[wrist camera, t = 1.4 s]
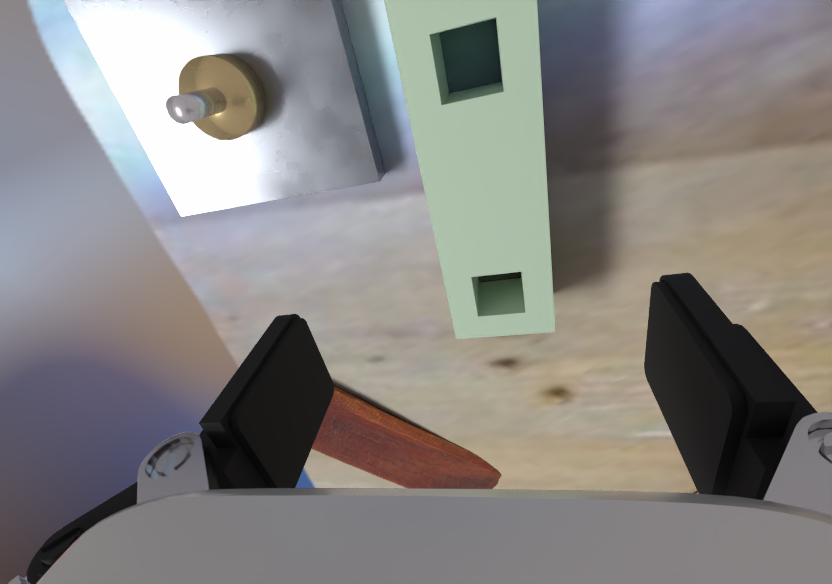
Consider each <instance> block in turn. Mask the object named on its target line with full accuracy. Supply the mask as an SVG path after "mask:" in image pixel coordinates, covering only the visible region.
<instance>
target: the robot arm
mask: <svg viewBox="0 0 832 584" xmlns="http://www.w3.org/2000/svg"><path fill="white" fill-rule="evenodd" d="M644 368H645V374H646V378H647V381H648V383H649V385H650V387H651V389H652V392H653V394H654V396H655V398H656V400H657V403H658V405H659V407H660V409H661V411H662V414H663V416H664V418H665V420H666V422H667V424H668V427H669V429H670V431H671V433H672V435H673V438H674V440H675V442H676V444H677V446H678V449H679V451H680V453H681V455H682V457H683V460H684V462H685V464H686V466H687V468H688V471H689V473H690V475H691V477H692V479H693V482H694V484H695V486H696V488H697V490H698V493H699V494H694V493H670V492H634V491H593V490H514V489H400V488H295V487H296V484H297V482H298V479H299V477H300V474H301V472H302V470H303V467H304V465H305V463H306V460H307V458H308V455H309V453H310V450H311V448H312V446H313V443H314V441H315V438H316V436H317V434H318V431H319V429H320V426H321V424H322V422H323V419H324V417H325V414H326V412H327V409H328V407H329V405H330V402H331V400H332V397H333V395H334V384H333V381H332V379H331V377H330V374H329V372H328V370H327V368H326V365H325V363H324V361H323V359H322V356H321V354H320V352H319V350H318V347H317V345H316V343H315V340H314V338H313V336H312V334H311V331H310V329H309V327H308V325H307V322H306V321H305V320H304V319H303V318H300V317H299V316H298V315H297V314H291V315H281V316H277V317H276V318H275V319H274V320H273V322H272V323H271V324H270V326H269V327H268V329H267V330H266V331H265V333H264V334H263V335H262V337H261V338H260V340H259V341H258V342H257V344H256V345H255V346H254V348H253V349H252V351H251V352H250V353H249V355H248V356H247V358H246V359H245V360H244V362H243V363H242V364H241V366H240V367H239V369H238V370H237V371H236V373H235V374H234V376H233V377H232V378H231V380H230V381H229V382H228V384H227V385H226V387H225V388H224V389H223V391H222V392H221V394H220V395H219V396H218V398H217V399H216V400H215V402H214V403H213V404H212V406H211V407H210V409H209V410H208V411H207V413H206V414H205V416H204V417H203V418H202V420H201V421H200V422H199V424H200V425H201V426H202V428H203V431H202V432H201V434H200V435H198V434H196V433H194V432H184V433H180V434H177V435H174V436H172V437H170V438H168V439H167V440H165V441H163V442H162V443H160V444H159V445H158V446H157V447H155V448H154V449H153V450H152V451H151V452H150V453H149V454H148V455H147V457H146V458H145V459H144V460H143V462H142V464H141V466H140V468H139V472H138V482H136V483H135V484H133V485H131V486H130V487H128V488H127V489H125V490H123V491H122V492H120V493H118V494H117V495H115V496H113V497H112V498H110V499H109V500H107V501H105V502H104V503H102V504H100V505H99V506H97V507H96V508H94V509H92V510H91V511H89V512H87V513H86V514H84V515H82V516H81V517H79V518H77V519H76V520H74V521H73V522H71V523H69V524H68V525H66V526H65V527H63V528H62V529H61V530H59V531H57V532H56V533H54V534H53V535H52V536H51V537H50V538H49V539H48V540H47V541H46V542H45V543H44V544H43V546H42V547H41V548H40V549H39V551H38V552H37V553H36V555H35V556H34V558H33V559H32V561H31V563H30V565H29V568H28V571H27V576H26V577H25V578H24V579H23V578H21V577H20V576H17V577H16V578H14V579H13V580H12V581H11V582H9V583H8V584H832V412H822V413H818V412H817V411H816V410H815V409H814V408H813V407H812V405H811V404H810V403H809V402H808V401H807V400H806V398H805V397H804V396H803V395H802V394H801V393H800V391H799V390H798V389H797V388H796V387H795V386H794V384H793V383H792V382H791V381H790V380H789V379H788V377H787V376H786V375H785V374H784V373H783V372H782V370H781V369H780V368H779V367H778V366H777V365H776V363H775V362H774V361H773V360H772V359H771V358H770V356H769V355H768V354H767V353H766V352H765V351H764V349H763V348H762V347H761V346H760V345H759V344H758V342H757V341H756V340H755V339H754V338H753V337H752V335H751V334H750V333H749V332H748V331H747V330H746V329H745V328H744V327H743V326H742V325H739V324H732V323H731V321H730V320H729V319H728V318H727V317H726V315H725V314H724V313H723V312H722V311H721V309H720V308H719V307H718V306H717V304H716V303H715V302H714V301H713V300H712V298H711V297H710V296H709V295H708V294H707V292H706V291H705V290H704V289H703V288H702V286H701V285H700V284H699V283H698V282H697V280H696V279H695V278H694V277H693V275H691V274H690V273H682V274H672V275H663V276H661V278H660V281H659V282H654V283H653V284H652V287H651V297H650V308H649V319H648V330H647V341H646V352H645V363H644Z"/></svg>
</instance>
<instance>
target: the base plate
mask: <svg viewBox="0 0 832 584" xmlns="http://www.w3.org/2000/svg"><path fill="white" fill-rule="evenodd" d="M63 1H64V2H65V4H66V6H67V8H68V10H69V12H70V13H71V15H72V17H73V19H74V21H75V23H76V24H77V26H78V28H79V30H80V32H81V34H82V35H83V37H84V39H85V41H86V43H87V45H88V46H89V48H90V50H91V52H92V54H93V56H94V57H95V59H96V61H97V63H98V65H99V67H100V68H101V70H102V72H103V74H104V76H105V78H106V80H107V81H108V83H109V85H110V87H111V89H112V91H113V92H114V94H115V96H116V98H117V100H118V102H119V103H120V105H121V107H122V109H123V111H124V113H125V114H126V116H127V118H128V120H129V122H130V124H131V125H132V127H133V129H134V131H135V133H136V135H137V136H138V138H139V140H140V142H141V144H142V146H143V148H144V149H145V151H146V153H147V155H148V157H149V159H150V160H151V162H152V164H153V166H154V168H155V170H156V171H157V173H158V175H159V177H160V179H161V181H162V182H163V184H164V186H165V188H166V190H167V192H168V193H169V195H170V197H171V199H172V201H173V203H174V204H175V206H176V208H177V210H178V212H179V214H180V215H181V217H182V216H187V215H193V214H198V213H204V212H210V211H215V210H221V209H227V208H232V207H238V206H244V205H249V204H255V203H261V202H266V201H272V200H278V199H283V198H289V197H295V196H300V195H306V194H311V193H317V192H323V191H328V190H334V189H340V188H345V187H351V186H357V185H362V184H368V183H374V182H379V181H380V180H381V179H382V178H383V176H384V175H385V171H384V167H383V163H382V159H381V155H380V151H379V147H378V143H377V140H376V136H375V132H374V128H373V124H372V120H371V116H370V112H369V108H368V105H367V101H366V97H365V93H364V89H363V85H362V81H361V77H360V74H359V70H358V66H357V62H356V58H355V54H354V50H353V46H352V43H351V39H350V35H349V31H348V27H347V23H346V19H345V15H344V12H343V8H342V4H341V0H63Z"/></svg>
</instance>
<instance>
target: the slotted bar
mask: <svg viewBox="0 0 832 584" xmlns="http://www.w3.org/2000/svg"><path fill="white" fill-rule="evenodd" d="M384 2H385V7H386V12H387V16H388V21H389V26H390V30H391V35H392V40H393V44H394V49H395V54H396V59H397V63H398V68H399V73H400V77H401V82H402V87H403V91H404V96H405V101H406V106H407V110H408V115H409V120H410V124H411V129H412V134H413V138H414V143H415V148H416V153H417V157H418V162H419V167H420V171H421V176H422V181H423V185H424V190H425V195H426V199H427V204H428V209H429V214H430V218H431V223H432V228H433V232H434V237H435V242H436V246H437V251H438V256H439V261H440V265H441V270H442V275H443V279H444V284H445V289H446V293H447V298H448V303H449V307H450V312H451V317H452V322H453V326H454V331H455V336H456V339H465V338H478V337H492V336H506V335H520V334H533V333H547V332H555V318H554V300H553V282H552V264H551V246H550V227H549V209H548V191H547V173H546V155H545V136H544V118H543V100H542V82H541V64H540V45H539V27H538V9H537V0H384ZM492 19H496V26H497V36H498V46H499V56H500V66H501V76H502V82H498V83H493V84H489V85H484V86H480V87H475V88H471V89H466V90H462V91H457V92H453V93H449V89H448V83H447V77H446V70H445V64H444V58H443V52H442V46H441V39H440V33H442V32H446V31H450V30H454V29H458V28H461V27H465V26H469V25H473V24H477V23H481V22H484V21H488V20H492ZM514 272H521V277H522V278H516V279H506V280H497V281H488V282H480V281H479V276H486V275H495V274H505V273H514Z"/></svg>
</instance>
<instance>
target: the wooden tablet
mask: <svg viewBox="0 0 832 584" xmlns="http://www.w3.org/2000/svg"><path fill="white" fill-rule="evenodd" d="M312 449H314V450H316V451H319V452H321V453H323V454H325V455H327V456H330V457H332V458H335V459H337V460H339V461H342V462H344V463H346V464H349V465H352V466H354V467H356V468H359V469H361V470H364V471H366V472H368V473H371V474H373V475H376V476H378V477H380V478H383V479H386V480H388V481H391V482H393V483H396V484H398V485H401V486H403V487H405V488H407V489H492V488H493V487H495V486H496V485H497V484H498V481H499V478H500V477H501V474H500V472H499V471H498V470H497V469H495V468H494V467H493V466H491V465H490V464H489V463H487V462H486V461H484V460H483V459H482V458H480V457H479V456H477V455H476V454H474V453H472V452H470V451H468V450H466V449H464V448H462V447H459V446H457V445H455V444H453V443H451V442H449V441H446V440H444V439H442V438H440V437H438V436H436V435H434V434H432V433H429V432H427V431H425V430H422V429H420V428H418V427H415V426H414V425H411V424H409V423H407V422H405V421H403V420H401V419H398V418H396V417H394V416H392V415H390V414H388V413H386V412H384V411H382V410H379V409H377V408H375V407H374V406H372V405H370V404H368V403H366V402H365V401H363V400H361V399H359V398H356V397H354V396H353V395H351V394H349V393H347V392H345V391H343V390H341V389H339V388H338V387H335V386H334V395H333V397H332V400H331V402H330V405H329V407H328V409H327V412H326V414H325V417H324V419H323V422H322V424H321V426H320V429H319V431H318V434H317V436H316V438H315V441H314V443H313V446H312Z"/></svg>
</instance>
